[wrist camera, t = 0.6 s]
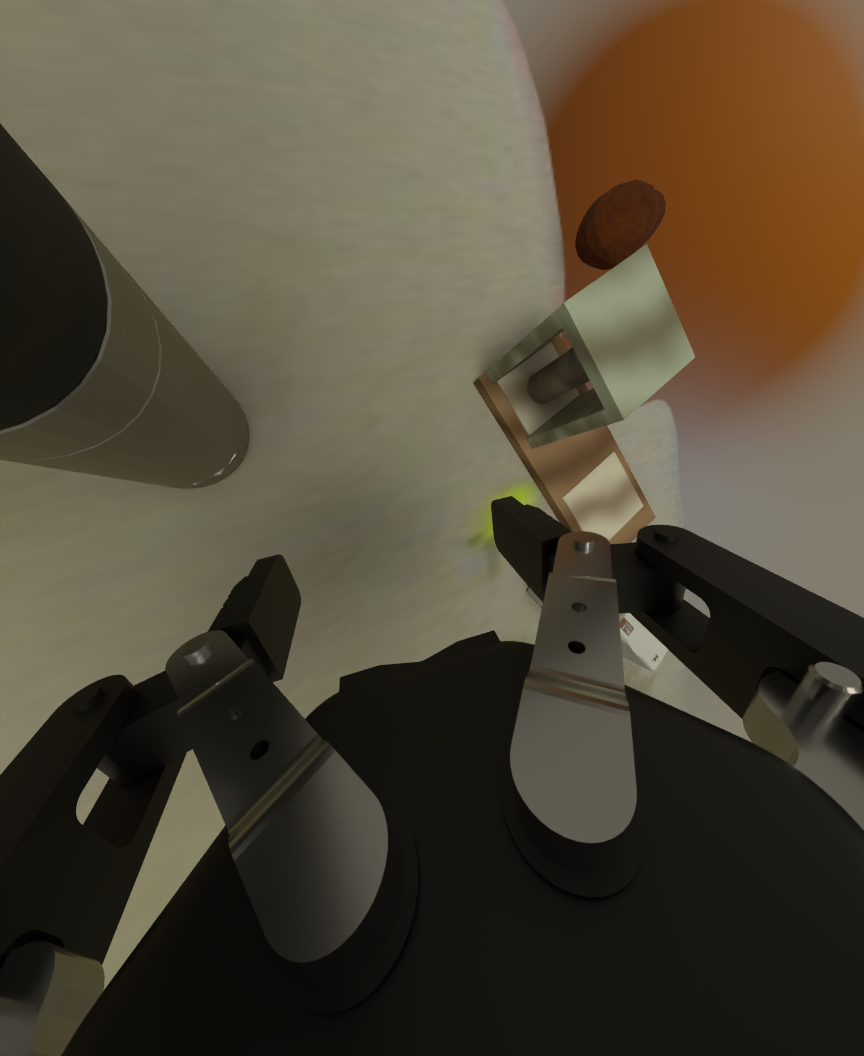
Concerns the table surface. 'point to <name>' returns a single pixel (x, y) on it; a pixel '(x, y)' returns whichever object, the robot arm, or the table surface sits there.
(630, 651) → the skincare box
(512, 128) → the table surface
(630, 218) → the potato
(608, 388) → the board
